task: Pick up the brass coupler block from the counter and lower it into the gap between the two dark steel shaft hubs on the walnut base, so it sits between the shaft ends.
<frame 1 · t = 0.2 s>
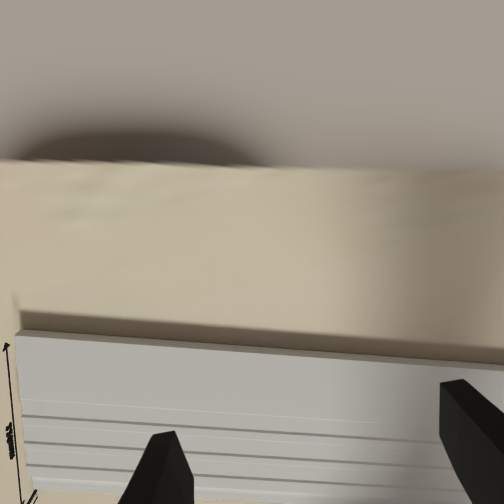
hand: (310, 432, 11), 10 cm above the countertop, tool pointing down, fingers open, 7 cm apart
baseboard molding: (300, 429, 25), on the countertop
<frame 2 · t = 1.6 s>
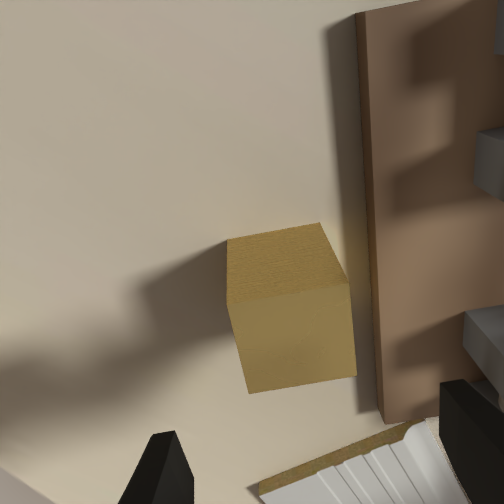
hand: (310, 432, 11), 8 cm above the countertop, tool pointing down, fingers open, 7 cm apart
coupler: (279, 270, 19), on the countertop
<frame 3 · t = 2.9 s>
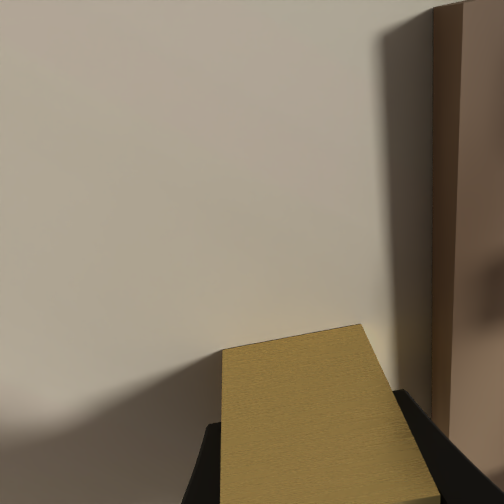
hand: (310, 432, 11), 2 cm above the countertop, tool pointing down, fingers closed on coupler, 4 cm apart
coupler: (300, 387, 13), on the countertop, touching gripper
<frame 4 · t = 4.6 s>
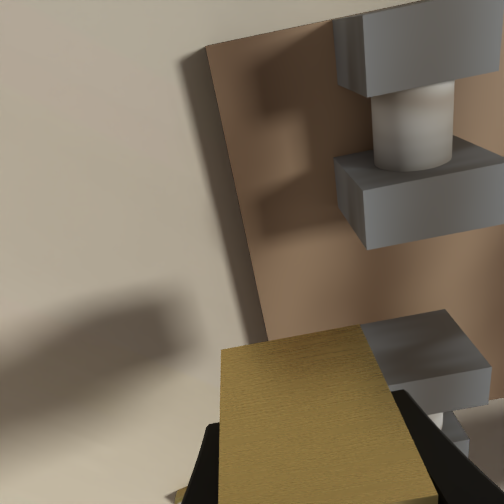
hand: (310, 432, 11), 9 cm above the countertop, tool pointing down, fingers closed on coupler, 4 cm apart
shaft base: (385, 248, 19), on the countertop
coupler: (299, 387, 13), point 7 cm above the countertop, touching gripper
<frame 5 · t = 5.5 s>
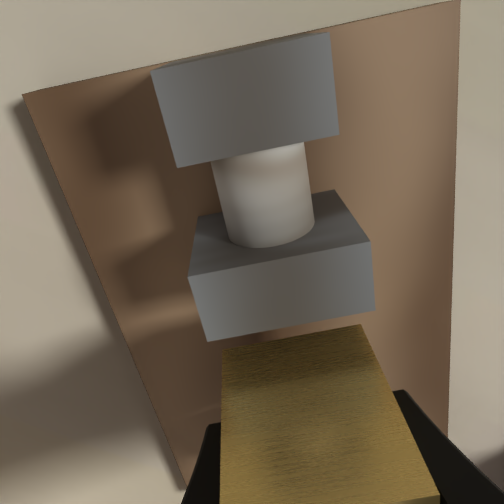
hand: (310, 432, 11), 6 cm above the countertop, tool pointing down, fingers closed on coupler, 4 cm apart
shaft base: (285, 309, 17), on the countertop
coupler: (300, 387, 13), point 4 cm above the countertop, touching gripper
when the fingers open (4 cm above the countertop, at t = 6.2 s): coupler drops 1 cm, resting on shaft base.
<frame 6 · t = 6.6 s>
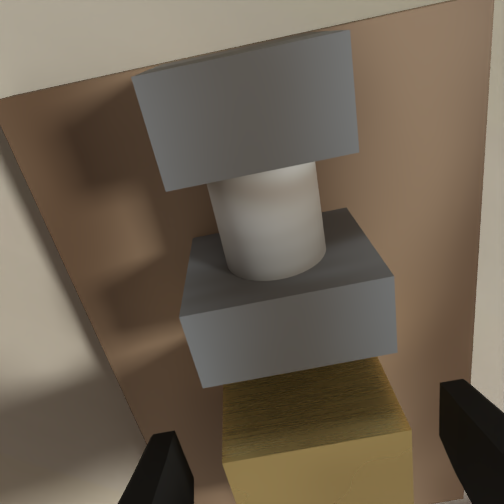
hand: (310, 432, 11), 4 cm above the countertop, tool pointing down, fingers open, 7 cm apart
shaft base: (289, 334, 15), on the countertop
coupler: (295, 357, 14), point 1 cm above the countertop, touching shaft base
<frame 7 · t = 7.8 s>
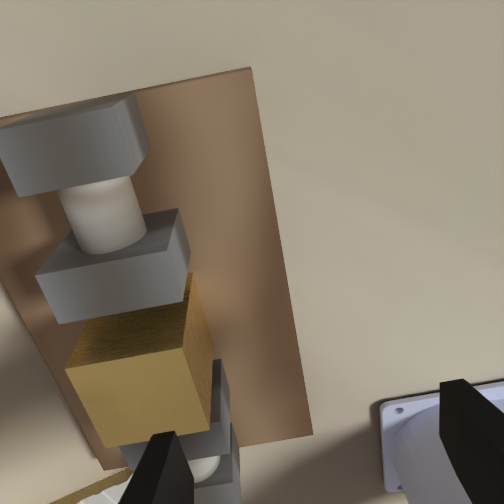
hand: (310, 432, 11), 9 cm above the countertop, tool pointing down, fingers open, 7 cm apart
shaft base: (163, 302, 20), on the countertop
coupler: (160, 317, 19), point 1 cm above the countertop, touching shaft base
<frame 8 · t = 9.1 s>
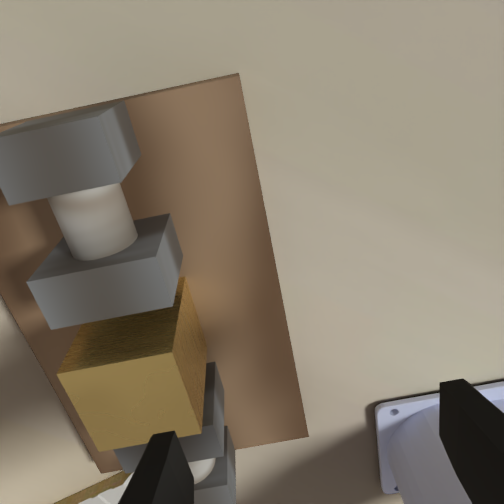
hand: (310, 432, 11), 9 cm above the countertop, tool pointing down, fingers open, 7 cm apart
shaft base: (157, 306, 21), on the countertop
coupler: (154, 321, 19), point 1 cm above the countertop, touching shaft base
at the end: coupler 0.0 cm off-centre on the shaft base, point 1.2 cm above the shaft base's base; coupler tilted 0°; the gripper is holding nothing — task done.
